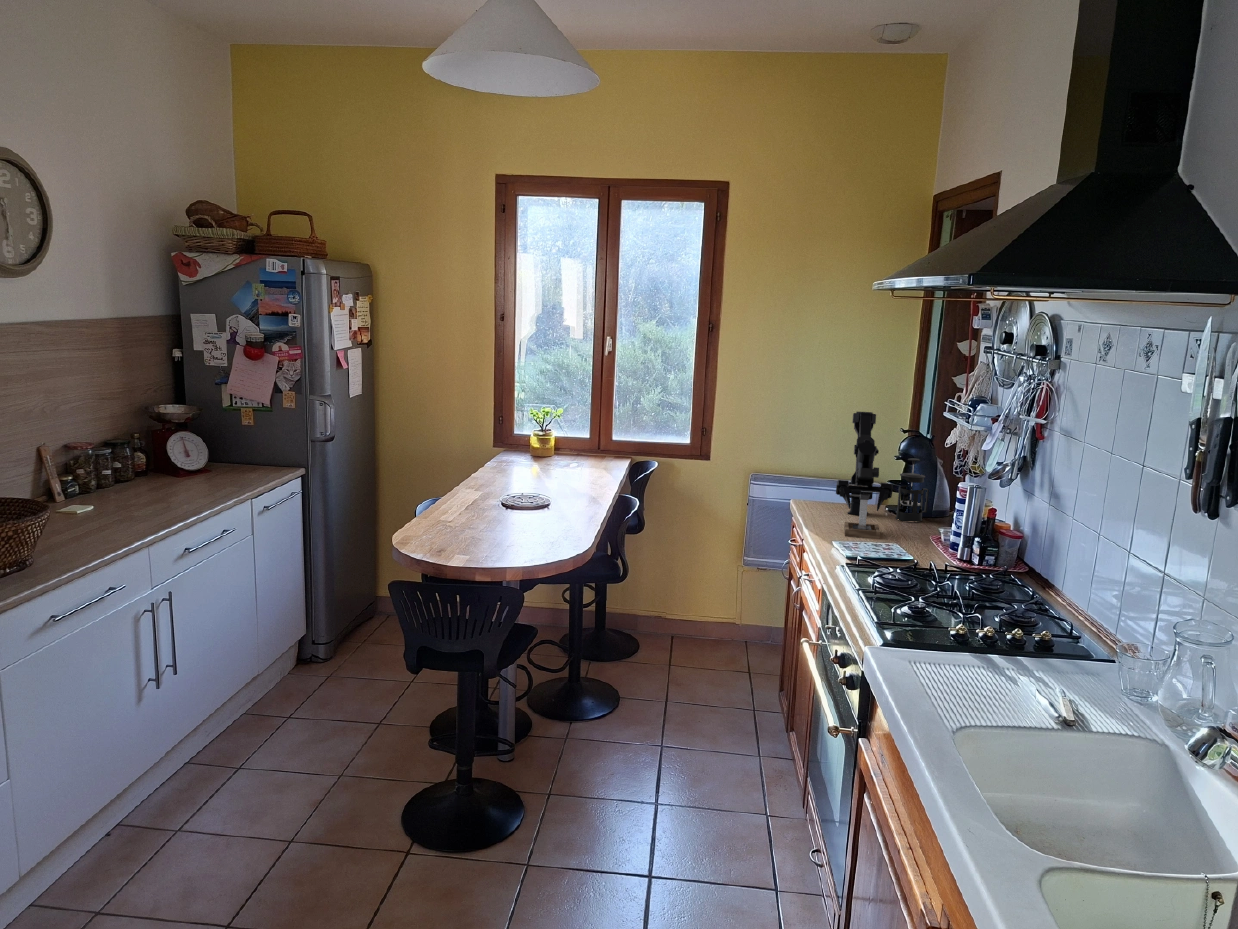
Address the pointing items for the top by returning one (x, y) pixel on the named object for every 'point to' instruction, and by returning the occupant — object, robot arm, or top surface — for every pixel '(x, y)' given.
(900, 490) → the french press
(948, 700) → the top surface
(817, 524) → the top surface
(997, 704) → the top surface
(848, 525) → the dock
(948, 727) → the top surface
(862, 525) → the post on square base
